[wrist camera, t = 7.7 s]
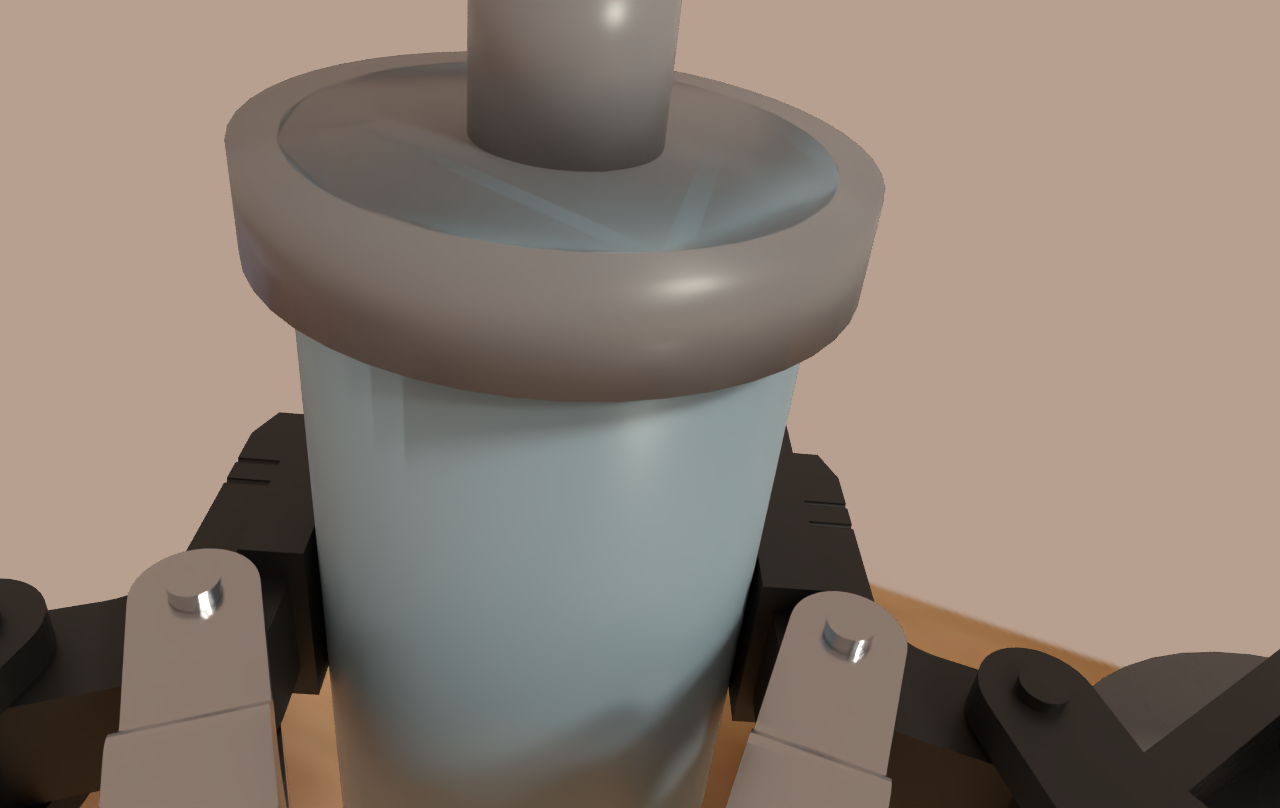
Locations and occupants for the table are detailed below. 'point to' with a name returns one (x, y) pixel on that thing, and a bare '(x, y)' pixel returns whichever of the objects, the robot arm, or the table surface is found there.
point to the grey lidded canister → (542, 388)
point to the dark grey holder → (1205, 724)
